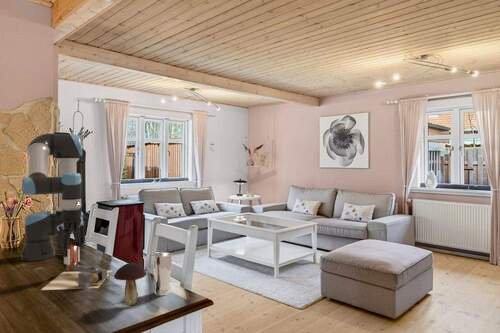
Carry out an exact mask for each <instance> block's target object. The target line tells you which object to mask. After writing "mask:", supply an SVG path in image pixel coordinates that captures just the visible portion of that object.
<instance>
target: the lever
mask: <svg viewBox="0 0 500 333" xmlns="http://www.w3.org/2000/svg"><path fill="white" fill-rule="evenodd" d="M68 249H70V264H69V265H67V264H66V271H68V272H71V271H73V272H88V273H96V274H97V275H98V276H99V279H101V280H103V279H105V280H106V279H108V277H107V271H108V269H107V268H101V267H99V266H86V265H81V264H78V262H77V245H75V244H69V246H68Z"/></svg>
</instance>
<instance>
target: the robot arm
mask: <svg viewBox="0 0 500 333" xmlns="http://www.w3.org/2000/svg"><path fill="white" fill-rule="evenodd" d="M27 155H28V156H29V158H28V159H29V161H28V173H27V174H28V175H27V177H23V178H22V181H21V190H22V191H21V192H22V194H23V195H25V196H26V195H28V196H30V195H32V196H34V195H55V194H56V195H57V194H58V207H57V208H56V209H55V213H52V211H51V210H45V211H44V210H43V211H37V212H34V213H30V214H27V215H26V216H25V218H24V246H23V248H22V251H21V255H20V260H21V261H24V262H37V261H43V260H48V259H51V258H53V257H55V256H56V249H55V248H54V245H53V242H52V236H54V237H55V236H56V238H57V249H59V250H62V257H63V264H64V265H66V266H67V265H69V264H70V249H68V246H69V245H70V240H71V235H73V239H74V245H77V263H79V262H80V257H81V256H80V254H81V252H82V250H81V249H82V247H83V246H84V245H85V244H86V226H87V223H88V222H87V221H84V217H83V216H84V213H83V211H82V174H81V173H79V172H77V168H78V167H77V162H79V160H80V157H82V156H83V146H82V139H81V137H80V135H79V134H72V133H42V134H40V135H37V136H36V137H35V138H33V139H32V140H31V141H30V142H29V144H28V146H27ZM49 156H54V157H55V158H54V159H55V160H56V161H57V162H58V176H48V171H49V169H48V161H49V160H48V157H49Z"/></svg>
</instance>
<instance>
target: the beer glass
mask: <svg viewBox="0 0 500 333" xmlns="http://www.w3.org/2000/svg"><path fill="white" fill-rule="evenodd" d="M152 263H153V268H152V269H153V275H154V281H155V288H154V295H155V296H160V297H163V296H167V295H170V294H171V292H172V290H171V285H170V284H171V275H172V268H173V259H172V253H171V252H168V251H163V252H162V251H161V252H160V251H159V252H156V253H154V254H153V262H152Z"/></svg>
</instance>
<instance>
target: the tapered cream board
mask: <svg viewBox="0 0 500 333" xmlns="http://www.w3.org/2000/svg"><path fill="white" fill-rule="evenodd" d="M112 272H113V269H112V270H108V269H107V278H108V277H109V276H110V275H111V273H112ZM105 280H106V279H103V280H101V279H98V281H97V282H96V283H92V273H88V272H79V271H63V272H61V273H59V274H58V276H56V277H55V278H54V279H52V280H51V281H49V283H47V284H46V285H45V286H44V287H42V288H41V289H40V291H51V290H52V291H55V290H56V291H57V290H58V291H59V290H79V289H99V288H100V286H101V285H102V284H103V283H104V282H105Z"/></svg>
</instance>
